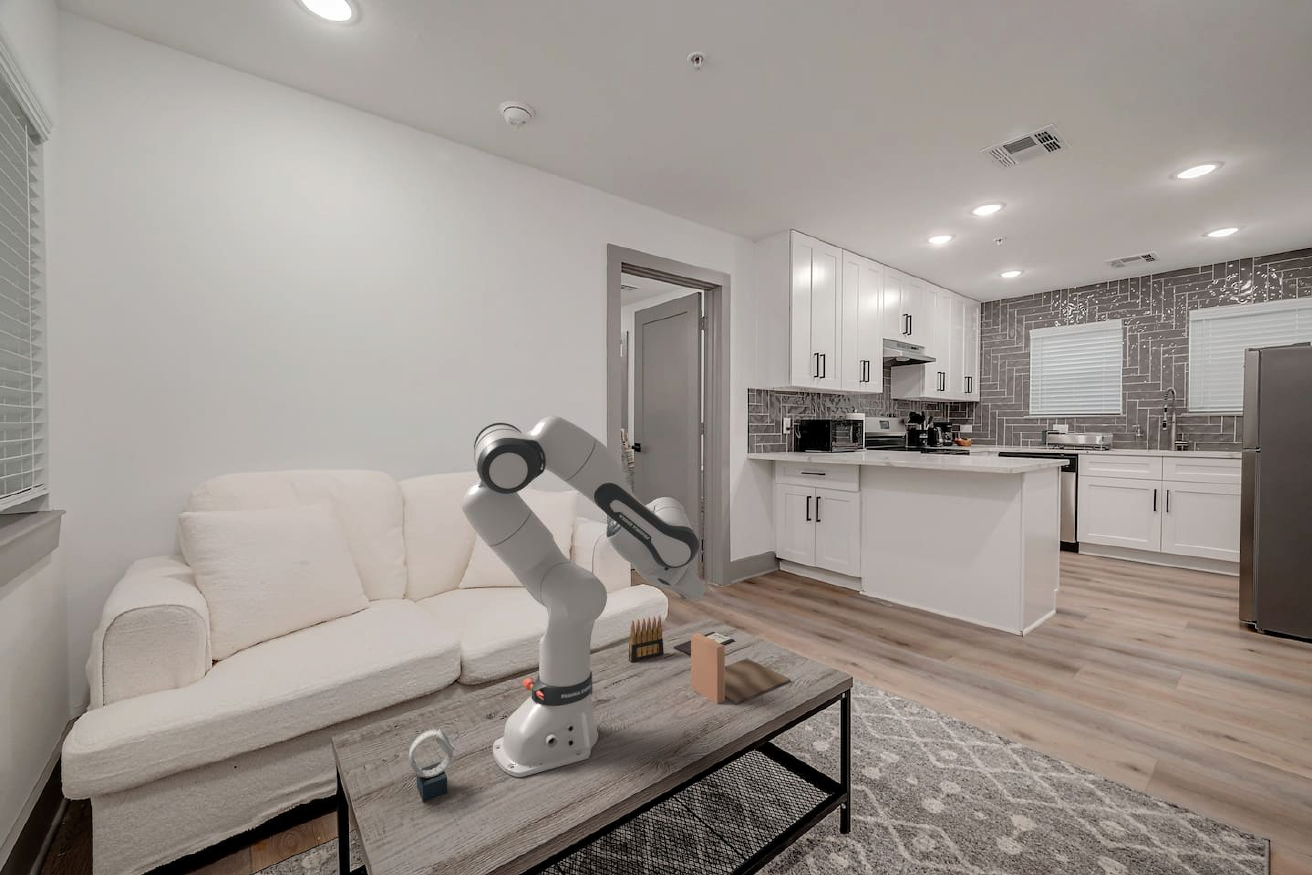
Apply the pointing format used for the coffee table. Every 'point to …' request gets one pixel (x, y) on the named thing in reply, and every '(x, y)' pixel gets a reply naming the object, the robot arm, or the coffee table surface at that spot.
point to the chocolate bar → (713, 636)
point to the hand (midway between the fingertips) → (688, 596)
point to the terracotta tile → (708, 668)
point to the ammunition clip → (646, 640)
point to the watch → (432, 767)
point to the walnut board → (749, 680)
